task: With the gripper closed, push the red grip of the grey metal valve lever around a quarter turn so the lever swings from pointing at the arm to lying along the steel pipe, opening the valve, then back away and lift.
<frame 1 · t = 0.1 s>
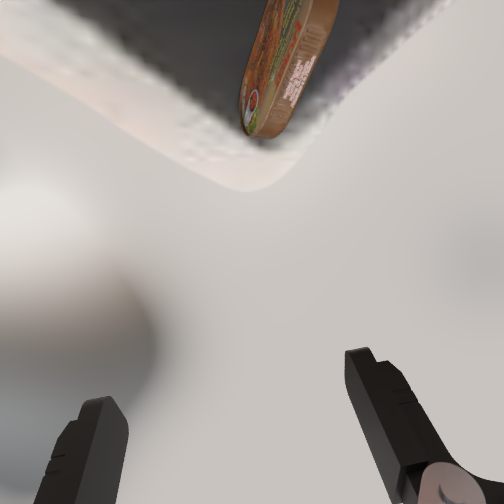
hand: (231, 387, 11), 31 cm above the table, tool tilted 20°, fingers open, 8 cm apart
tin: (271, 36, 32), on the table
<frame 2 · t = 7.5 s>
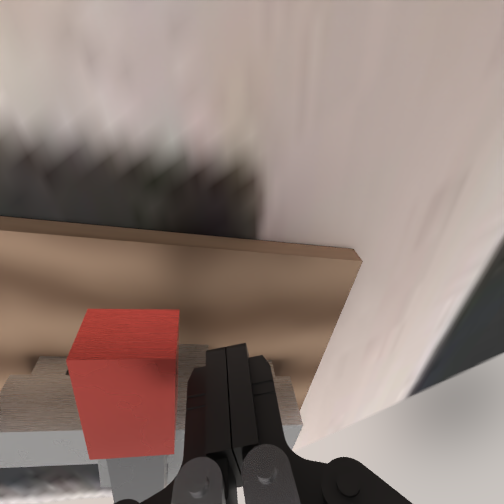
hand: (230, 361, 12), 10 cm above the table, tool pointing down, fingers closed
valve lever: (143, 442, 14), point 10 cm above the table, hinge at 2.9°, touching gripper
steel pipe and valve: (158, 410, 22), on the walnut board, point 5 cm above the table
walnut board: (164, 355, 26), on the table
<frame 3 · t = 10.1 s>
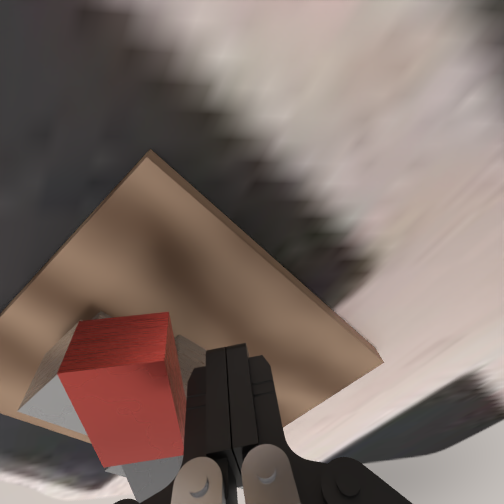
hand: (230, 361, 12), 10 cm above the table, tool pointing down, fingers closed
valve lever: (160, 445, 15), point 10 cm above the table, hinge at 48.2°, touching gripper
steel pipe and valve: (181, 413, 22), on the walnut board, point 5 cm above the table
walnut board: (183, 359, 26), on the table
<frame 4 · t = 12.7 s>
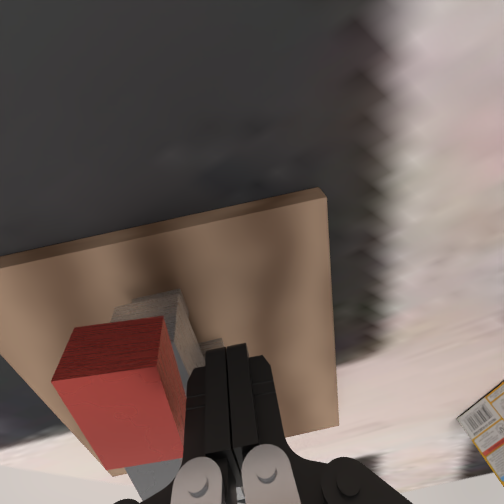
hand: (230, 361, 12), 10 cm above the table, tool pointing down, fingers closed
valve lever: (165, 446, 15), point 10 cm above the table, hinge at 83.2°
steel pipe and valve: (190, 411, 22), on the walnut board, point 5 cm above the table
walnut board: (192, 357, 26), on the table
crayon box: (487, 399, 36), on the table
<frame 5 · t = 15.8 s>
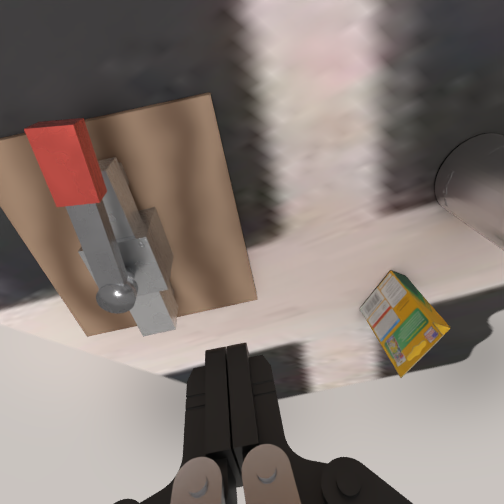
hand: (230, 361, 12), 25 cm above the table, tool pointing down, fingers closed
valve lever: (97, 225, 25), point 10 cm above the table, hinge at 83.3°
steel pipe and valve: (131, 253, 33), on the walnut board, point 5 cm above the table
walnut board: (139, 231, 37), on the table
crayon box: (381, 291, 46), on the table
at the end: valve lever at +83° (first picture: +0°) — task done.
